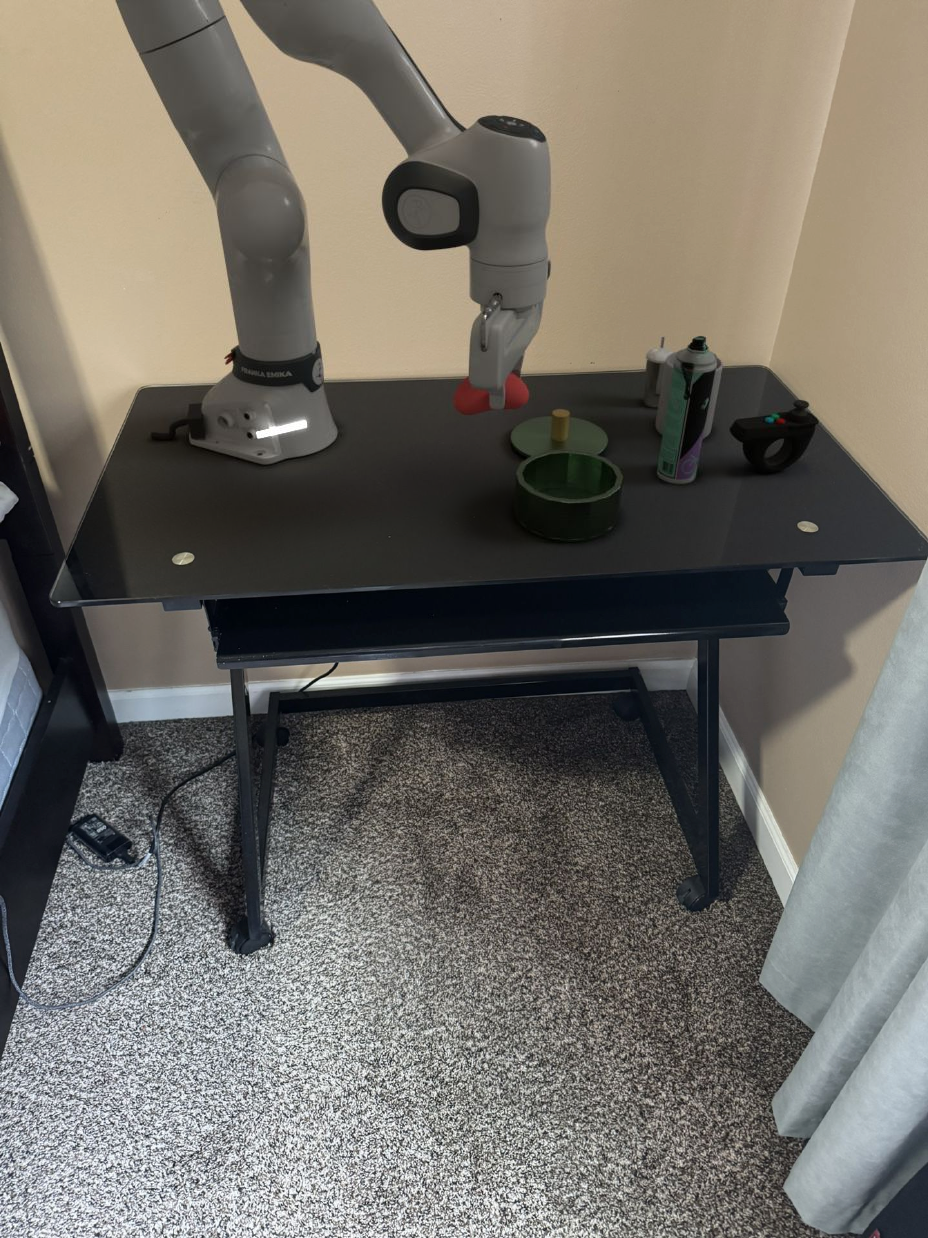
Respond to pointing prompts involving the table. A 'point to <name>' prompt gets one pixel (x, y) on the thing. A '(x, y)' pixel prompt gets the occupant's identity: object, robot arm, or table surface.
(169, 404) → the table surface
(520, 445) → the tin lid
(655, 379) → the milkshake
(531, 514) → the tin
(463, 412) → the red bean shape
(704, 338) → the spray can
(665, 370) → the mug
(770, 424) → the controller
